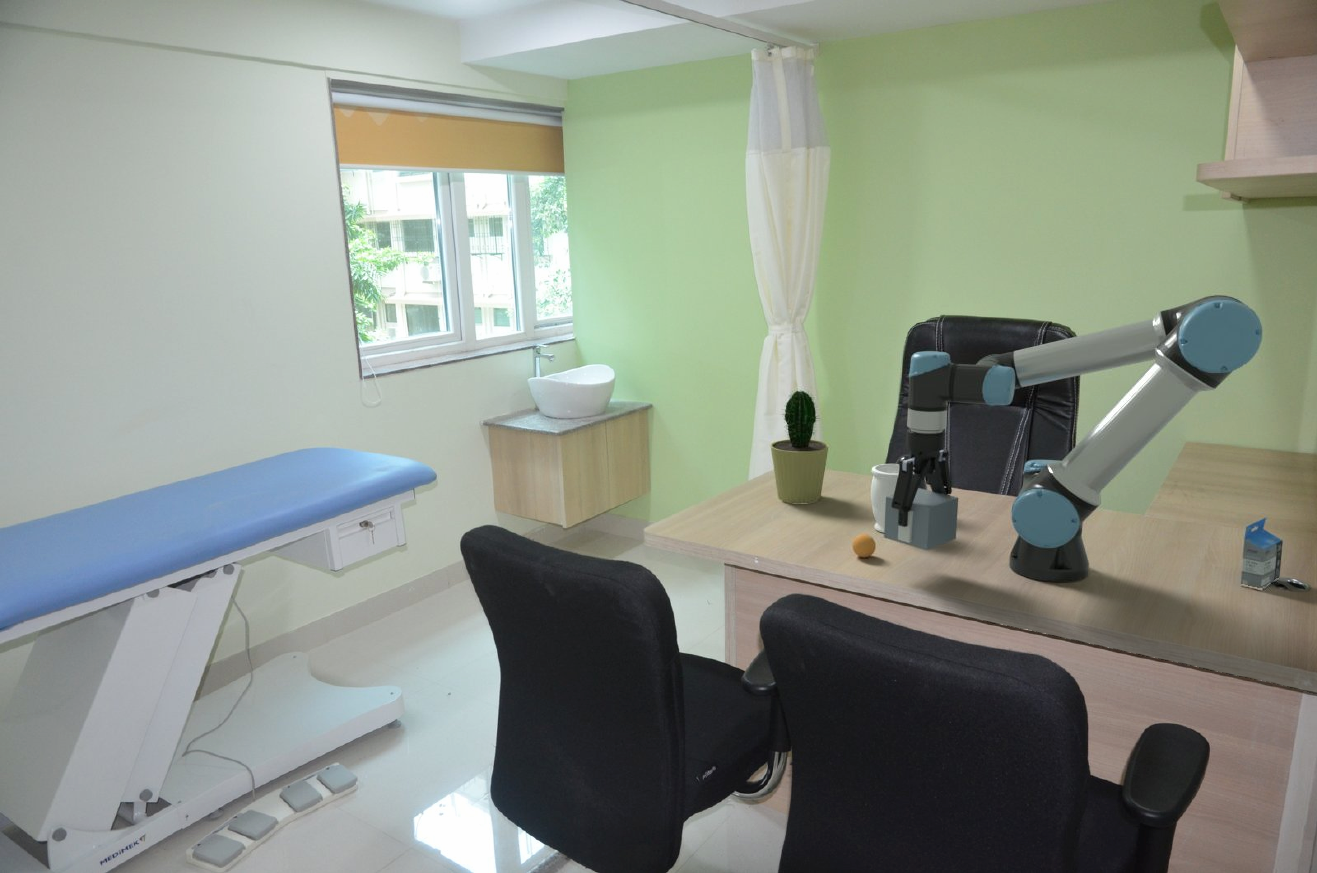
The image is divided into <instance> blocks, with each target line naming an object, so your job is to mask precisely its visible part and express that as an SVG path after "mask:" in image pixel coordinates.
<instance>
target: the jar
mask: <svg viewBox="0 0 1317 873" xmlns="http://www.w3.org/2000/svg"><path fill="white" fill-rule="evenodd" d="M871 473H872V475H873V476H872V481H871V485H870V499H871V500H870V501H871V507H872V514H873V517H874V520H875V521H876V522H875V524H874V525H873V526H874V529H875V530H876V531H878V532H880V533H883V534H884V529H885V506H886V497H887V496H890V495H893V494H894V492H895V487H896V483H897V478H898V474H899V464H896V463H881V464H877V465H874V466H872V467H871ZM913 474H915V473H914V472H913Z"/></svg>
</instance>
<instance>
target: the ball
mask: <svg viewBox="0 0 1317 873" xmlns="http://www.w3.org/2000/svg"><path fill="white" fill-rule="evenodd" d="M851 546H852V551H853V552H854V554H855V555H857V556H858V557H861V558H868V557H870V556H872V555H873V554H874V553H875V551H876V547H877V546H876V542H875V540H874V538H873V537H872V536H870V535H869V534H859V535H856V536H855V538H854V539H853V541H852V545H851Z"/></svg>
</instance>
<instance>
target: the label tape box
mask: <svg viewBox="0 0 1317 873" xmlns="http://www.w3.org/2000/svg"><path fill="white" fill-rule="evenodd" d="M1266 520H1267V517H1264V518H1261V519H1259V520H1256V521H1255V522H1252V523H1250V524H1248V525H1246V527H1245V531H1244V536H1243V548H1242V558H1241V559H1242V561H1241V572H1240V585H1241V584H1245V585H1248V586H1252V587H1257V588H1263V587H1266V586H1267V585H1268V584H1269V583H1270V582H1273V581H1274V580H1275V579H1276V578H1279V579H1280V576H1281V566H1282V565H1281V564H1282V554H1283V545H1284V544H1283V540H1282V539H1280V537H1277V536H1276V535H1274V534H1272V533H1271V532H1269V531H1267V529H1266V530H1265V529H1264V527H1265V524H1266ZM1255 528H1256V529H1255ZM1253 529H1254V530H1253Z"/></svg>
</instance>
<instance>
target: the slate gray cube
mask: <svg viewBox="0 0 1317 873" xmlns="http://www.w3.org/2000/svg"><path fill="white" fill-rule="evenodd" d="M949 495H950V494H948V495H945V494H941V493H937V492H933V491H932V490H928V489H927V490H924V489H920V488H918V490H917V493H916V496H915V498H914V501H913V504H912V506H911V509H910V510H911V511H913V521H912V540H911V542H910V543H908V542H905V541H901V540H898V526H899V525H898V519H899V518H898V514H899V511H898V509H895V508H892V506H891V505H892V501H893V496H894V494H893V495H890V496H887V497H886V506H885V529H884V533H883V538H884V539H887V540H891V541H894V542H898V543H900V544H904V545H908V546H911V547H914V548H917V549H921V550H924V551H929V550H932V549H934V548H936V547H939V546H941V545H944V544H946V543H949V542H952V541H954V540H956V539H957V528H958V526H957V525H958V513H959V512H958V511H959V510H958V508H959V497H957V496H952V495H950V496H949Z"/></svg>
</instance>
